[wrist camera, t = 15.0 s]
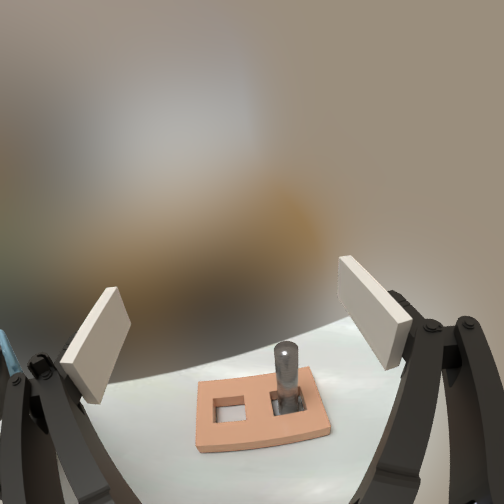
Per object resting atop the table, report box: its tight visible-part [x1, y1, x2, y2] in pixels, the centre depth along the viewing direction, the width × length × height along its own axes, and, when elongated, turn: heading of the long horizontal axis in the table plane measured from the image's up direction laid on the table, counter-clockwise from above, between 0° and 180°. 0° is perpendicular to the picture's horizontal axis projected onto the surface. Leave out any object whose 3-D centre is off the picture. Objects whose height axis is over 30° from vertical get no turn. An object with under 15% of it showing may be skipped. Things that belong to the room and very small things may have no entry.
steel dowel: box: [274, 341, 298, 415], centre depth 35 cm, size 3×3×14 cm
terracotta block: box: [195, 367, 331, 453], centre depth 37 cm, size 19×13×2 cm
